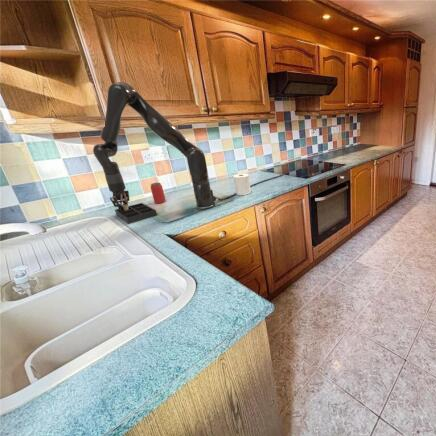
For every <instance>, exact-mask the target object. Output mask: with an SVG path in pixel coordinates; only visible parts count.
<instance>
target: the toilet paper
mask: <svg viewBox="0 0 436 436" xmlns="http://www.w3.org/2000/svg"><path fill="white" fill-rule="evenodd" d="M233 184H234V185H233V186H234V191H235V193H236V195H237V196H246V195H250V194H251V192H252V191H251V187H250V186H251V182H250V175H249V173H237V174H234V175H233Z"/></svg>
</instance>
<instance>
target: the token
mask: <svg viewBox="0 0 436 436" xmlns="http://www.w3.org/2000/svg"><path fill="white" fill-rule="evenodd" d="M122 206H123V209H124V211H125V210H129V208H128V206H129V204H128V205H126V204H125V205H123V204H122Z"/></svg>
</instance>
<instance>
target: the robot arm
mask: <svg viewBox="0 0 436 436" xmlns="http://www.w3.org/2000/svg"><path fill="white" fill-rule="evenodd" d="M106 102H107V103H106V112H105V117H104V121H105V127H104V128H103V127H102V128H103V129H102V128H101V132H100V139H101V140H102V141H103V142H104V143H98V144H95V145H94V146H93V148H92V152H93V155H94V157H95V158H96V160H97V161H98V163H99V165H100V166H101V167H102V170H103V173H104V178H105V181H106V184H107V187H108V190H109V192H110V193H112V196H111V197H109V200H110V201H111V203H112V205H113V206H114V208H117V209H119V212H122V211H124V209H123V206H122V205H125V204H126V205H128V208H129V206H130V205H129V202H130V192H129V190H126V184H125V181H124V177H123V175H122V173H121V170H120V167H119V165H118V163H117V162H116V161H112V160H111V159H110V158H113V157H114V156H116V155H117V153H118V149H119V148H118V147H119V146H118V139H119V136H120V132H121V129H122V128H121V127H122V126H121V125H122V115H123V112H124V109H125V108H126V106H127V105H128V106H129V107H130V108H131V109H133V110H134V111H135V112H136V113H137V114H138V115H139V117H141V118H142V120H143V121H144V123H145V124H146V126H147V127H148V128H149V130H150V131H152V133H154V134H155V135H156V136H157V137H159V138H160V139H161V140H163V141H165V142H166V143H167V144H169V145H170V146H172V147H173V148H175V149H177V150H178V151H179V152H180V153H181V154H182V155H183V156H184V157H185V158H186V160H187V166H188V171H189V175H190V179H191V183H192V188H193V193H194V198H195V203H196V208H197V209H198V210H207V209H211V208H212V207H214V206H216V203H215V202H217V200H218V201H225V200H228V199H230V198H232V197H234V196H236V195H237V194H236V192H235V193H233V194H231V195H229V196H227V197H225V198H220V197H217V196H215V195H214V191H213V189H212V188H211V184H210V178H209V172H208V167H207V160H206V155H205V153H204V151H203V150H202V149H200V148H199V147H198V146H196V145H194V143H192V142H191V141H189V140H188V139H187V138H186V137H185V136H184V135H183V134H182V133H181V132H180V131H179V129H177V127H175V126H174V125H173V124H172V123H171V122H170V121H169V120H168V119H167V118H166V117H164V115H163V114H161V113H160V112H159V111H158V110H156V109H155V108H154V107H153V106H152V105H150V104H149V102H147V101H146V99H145V98H143V96H142V95H141V94H140V93H139V92H138V91H137V90H136V89H135V88H134V87H133V86H132V85H131V84H129V83H128V82H124V81H119V82H115V83H112V84H110V85H109V86H108V89H107V101H106ZM282 176H284V175H283V174H280V175H277V176H273V177H271V178H266V179H263V180H261V181H258V182H255V183H253V184H250V188H252V187H253V186H256V185H259V184H261V183H263V182H266V181H269V180H273V179H276V178H279V177H282Z"/></svg>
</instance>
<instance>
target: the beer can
mask: <svg viewBox="0 0 436 436" xmlns="http://www.w3.org/2000/svg"><path fill="white" fill-rule="evenodd" d="M150 191H151V194H152V198H153V202H154V204H163V203H165V202H166V196H165V192H164V187H163V185H162V183H161V182H153V183H150Z"/></svg>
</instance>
